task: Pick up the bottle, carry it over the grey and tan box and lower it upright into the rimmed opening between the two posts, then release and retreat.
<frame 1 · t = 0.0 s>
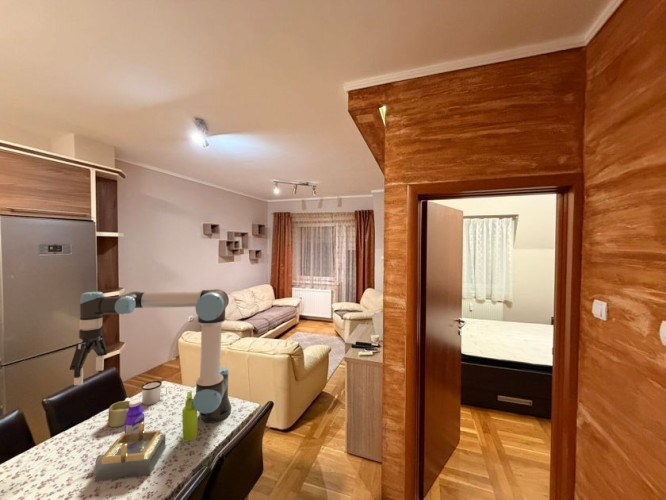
hand: (89, 377, 119), 28 cm above the table, fingers open, 13 cm apart
bottle: (134, 441, 121), on the table
mug: (122, 423, 133), on the table
grey and tan box: (132, 463, 108), on the table
soap dispenser: (190, 438, 124), on the table, touching arm
mug 2: (154, 400, 153), on the table
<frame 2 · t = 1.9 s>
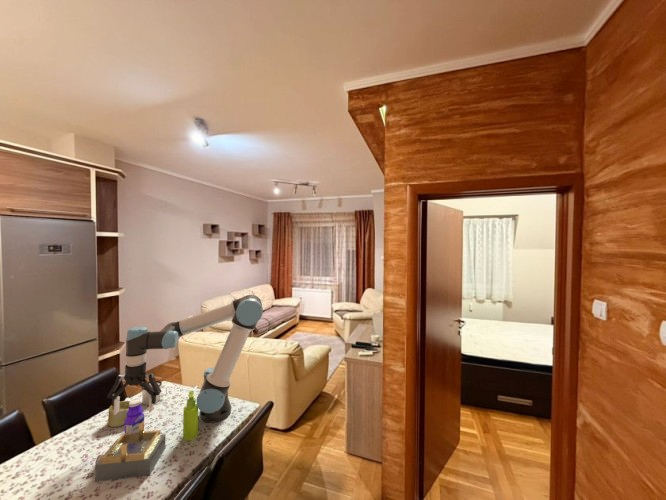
hand: (133, 412, 120), 13 cm above the table, fingers open, 13 cm apart
soap dispenser: (190, 437, 124), on the table
everything else where it was.
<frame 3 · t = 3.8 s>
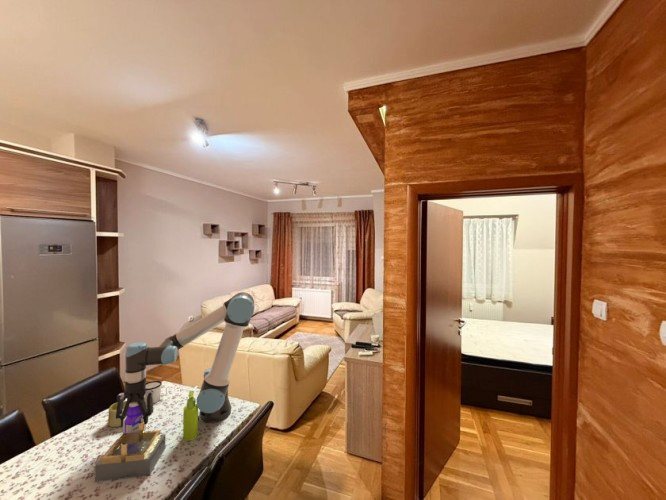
hand: (134, 432, 121), 4 cm above the table, fingers closed on bottle, 6 cm apart
bottle: (134, 441, 121), on the table, touching gripper
everything else where it was.
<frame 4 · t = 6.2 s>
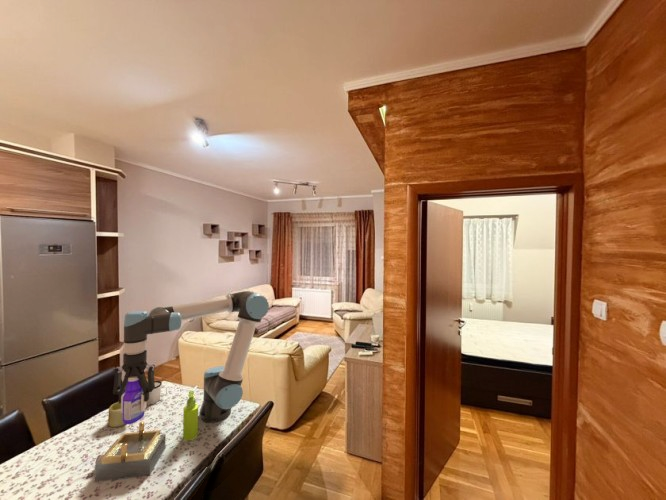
hand: (133, 410, 108), 21 cm above the table, fingers closed on bottle, 6 cm apart
bottle: (133, 420, 108), point 17 cm above the table, touching gripper
everything else where it was.
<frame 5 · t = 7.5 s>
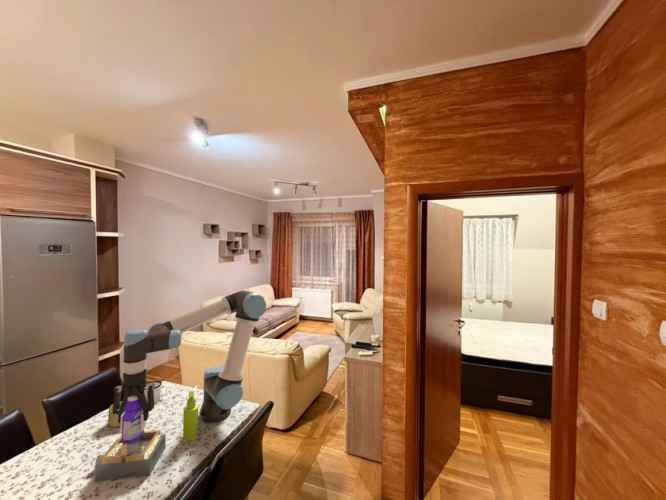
hand: (133, 429, 108), 14 cm above the table, fingers closed on bottle, 6 cm apart
bottle: (133, 440, 108), point 9 cm above the table, touching gripper
everything else where it was.
when the fingers open (11 cm above the table, at t = 8.7 s): bottle drops 1 cm, resting on grey and tan box.
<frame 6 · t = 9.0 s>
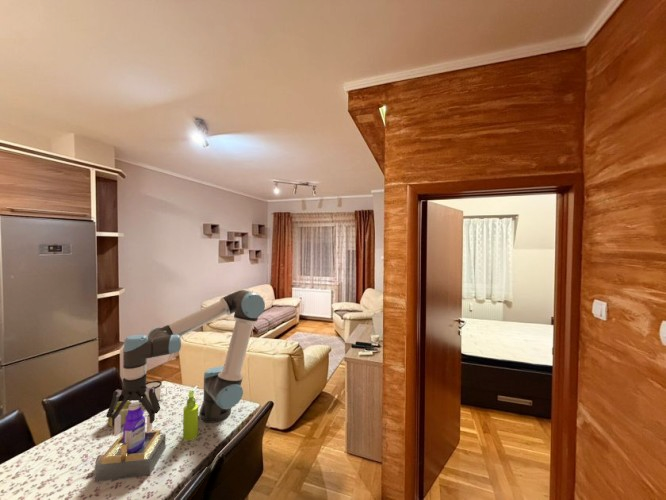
hand: (133, 432, 108), 12 cm above the table, fingers open, 10 cm apart
bottle: (133, 448, 108), point 6 cm above the table, touching grey and tan box
everything else where it was.
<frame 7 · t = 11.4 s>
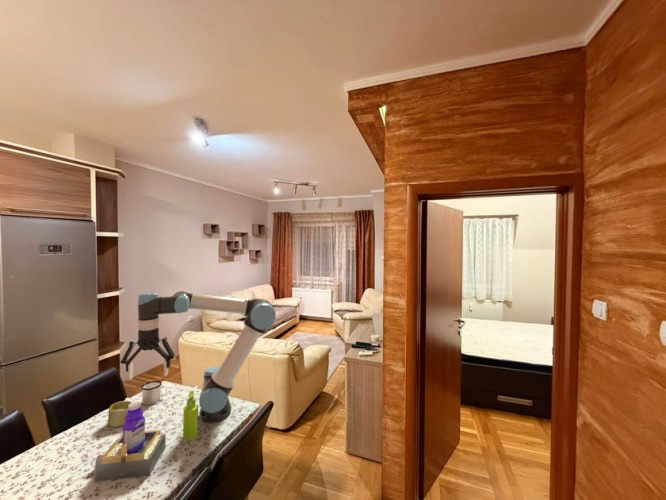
hand: (148, 376, 121), 28 cm above the table, fingers open, 13 cm apart
nothing on the table moved.
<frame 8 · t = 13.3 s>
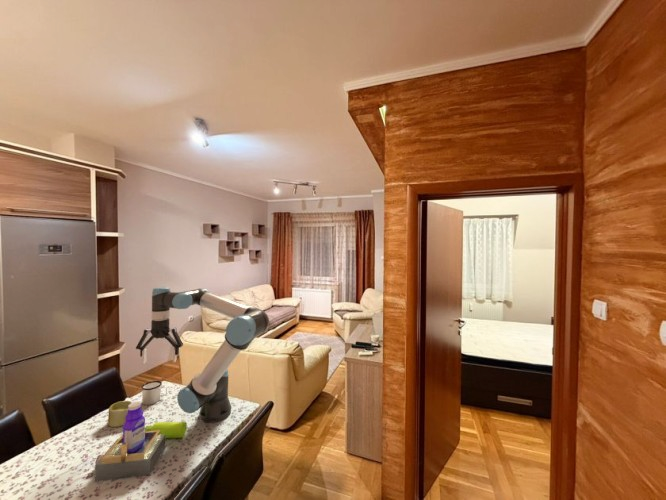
hand: (159, 362, 135), 29 cm above the table, fingers open, 13 cm apart
soap dispenser: (183, 429, 124), point 3 cm above the table
everything else where it was.
at the end: bottle inside the target area on the grey and tan box (0.2 cm from its centre), point 5.8 cm above the grey and tan box's base; bottle tilted 0°; the gripper is holding nothing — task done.
